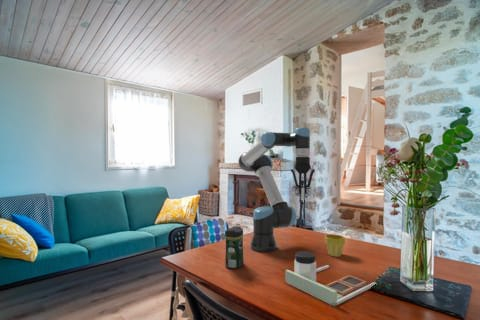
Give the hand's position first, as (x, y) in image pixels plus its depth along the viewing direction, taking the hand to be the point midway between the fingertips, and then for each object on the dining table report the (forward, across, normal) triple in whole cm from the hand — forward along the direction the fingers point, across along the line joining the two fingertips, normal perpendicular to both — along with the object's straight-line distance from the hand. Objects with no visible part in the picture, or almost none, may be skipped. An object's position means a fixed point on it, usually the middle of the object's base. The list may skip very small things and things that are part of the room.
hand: (302, 200), depth 153 cm
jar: (+30, -1, -36) cm, 46 cm away
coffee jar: (+30, -34, -21) cm, 50 cm away
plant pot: (+30, +17, +2) cm, 34 cm away
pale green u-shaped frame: (+29, +9, -35) cm, 47 cm away
